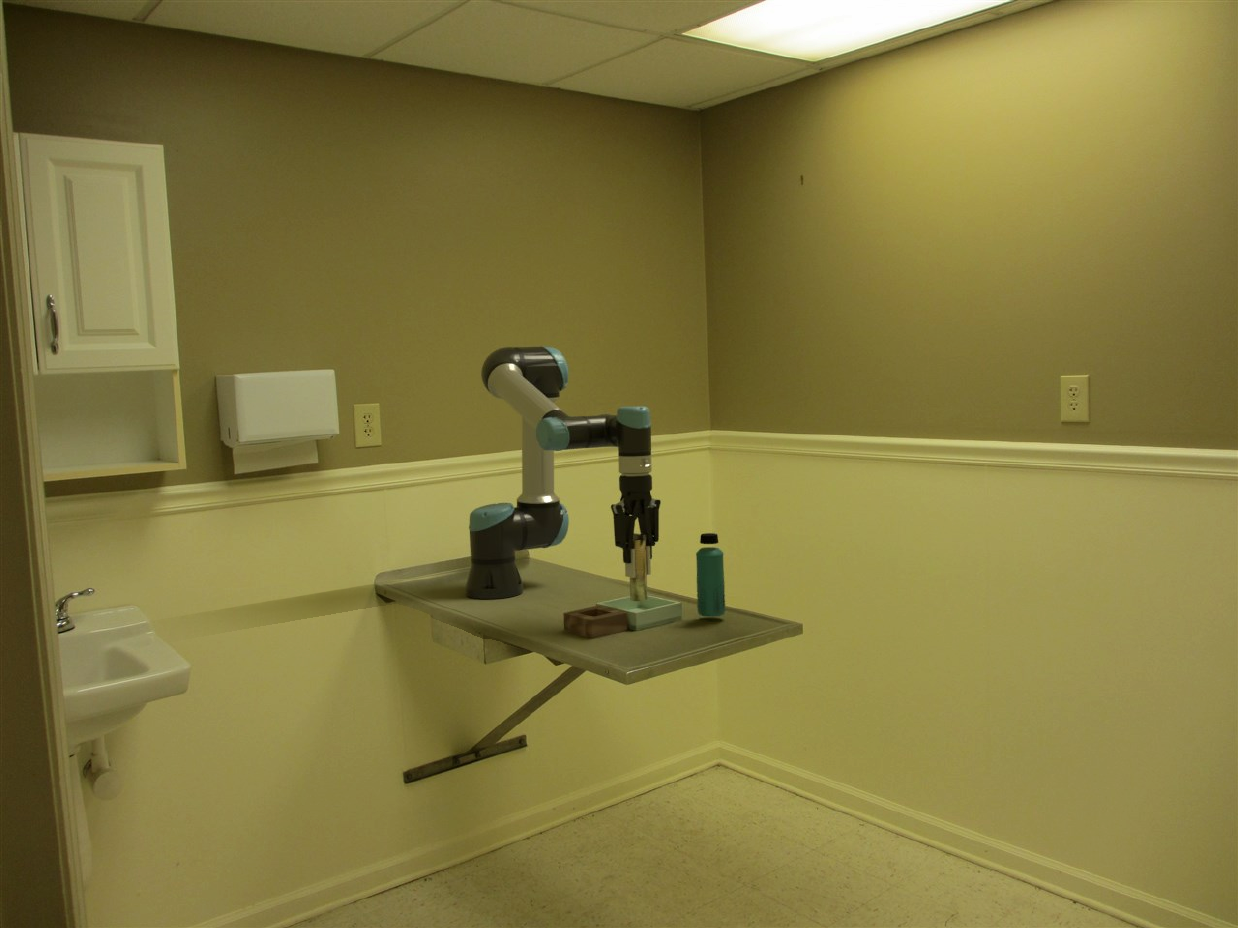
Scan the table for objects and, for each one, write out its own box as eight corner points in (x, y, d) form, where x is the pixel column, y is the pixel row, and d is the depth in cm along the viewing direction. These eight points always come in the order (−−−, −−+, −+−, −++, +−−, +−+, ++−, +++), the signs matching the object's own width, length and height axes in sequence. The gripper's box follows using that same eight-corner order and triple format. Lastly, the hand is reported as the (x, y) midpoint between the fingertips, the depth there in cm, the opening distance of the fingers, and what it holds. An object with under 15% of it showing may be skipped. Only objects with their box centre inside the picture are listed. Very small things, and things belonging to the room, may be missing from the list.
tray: (596, 620, 231) (595, 603, 231) (641, 610, 240) (640, 593, 240) (636, 630, 220) (636, 612, 220) (681, 619, 229) (681, 602, 229)
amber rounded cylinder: (624, 599, 230) (622, 534, 229) (637, 596, 233) (635, 531, 232) (639, 602, 226) (638, 536, 225) (652, 599, 229) (651, 534, 228)
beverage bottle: (728, 622, 226) (726, 535, 224) (699, 623, 225) (697, 536, 223) (722, 615, 232) (721, 530, 230) (694, 617, 232) (692, 532, 230)
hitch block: (564, 630, 222) (563, 612, 222) (598, 622, 229) (598, 605, 228) (592, 638, 215) (591, 620, 214) (627, 630, 221) (626, 612, 221)
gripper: (617, 478, 219) (620, 583, 221) (673, 472, 230) (676, 572, 232) (596, 476, 225) (599, 578, 227) (651, 470, 236) (654, 568, 238)
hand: (638, 575), depth 229 cm, fingers closed on amber rounded cylinder, 4 cm apart
